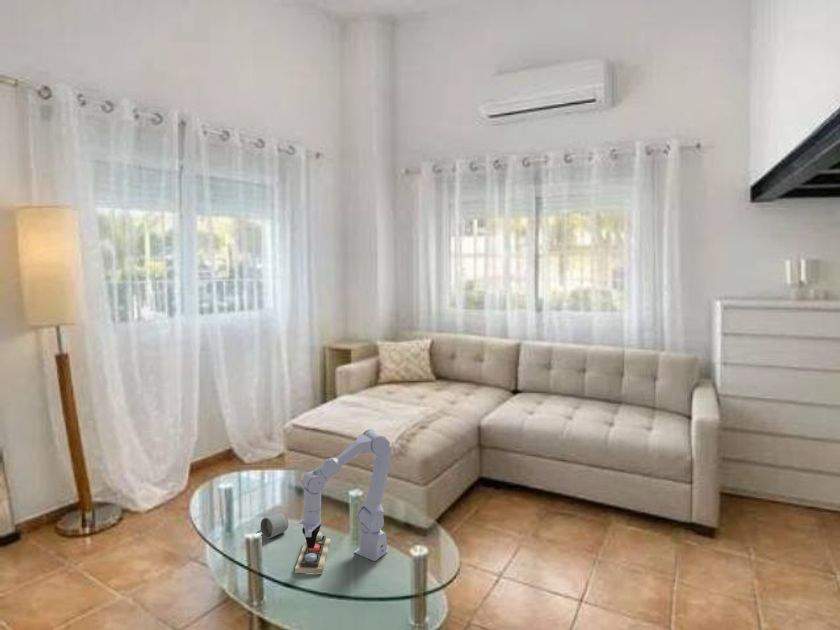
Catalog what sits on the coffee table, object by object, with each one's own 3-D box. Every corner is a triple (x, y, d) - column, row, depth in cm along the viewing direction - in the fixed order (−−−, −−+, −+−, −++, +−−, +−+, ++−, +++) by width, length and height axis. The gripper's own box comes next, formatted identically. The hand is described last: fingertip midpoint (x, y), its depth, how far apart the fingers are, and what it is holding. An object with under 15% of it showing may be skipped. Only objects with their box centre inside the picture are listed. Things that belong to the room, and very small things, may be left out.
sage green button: (312, 536, 193) (312, 531, 193) (323, 536, 193) (323, 531, 193) (310, 542, 189) (310, 536, 189) (321, 542, 189) (321, 537, 189)
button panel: (305, 543, 195) (306, 534, 194) (330, 543, 195) (330, 534, 195) (294, 574, 175) (295, 564, 175) (322, 574, 175) (322, 564, 175)
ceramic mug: (289, 533, 202) (290, 513, 201) (272, 541, 195) (272, 521, 194) (272, 525, 208) (272, 506, 207) (254, 532, 201) (254, 513, 201)
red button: (309, 548, 187) (309, 543, 187) (320, 548, 187) (320, 543, 187) (306, 554, 183) (307, 549, 183) (318, 554, 183) (318, 549, 183)
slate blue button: (305, 558, 180) (305, 552, 180) (317, 558, 180) (317, 553, 180) (303, 564, 176) (303, 559, 176) (315, 565, 176) (315, 559, 176)
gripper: (304, 498, 184) (303, 536, 185) (295, 518, 170) (294, 558, 171) (324, 499, 184) (323, 536, 185) (317, 518, 170) (316, 559, 171)
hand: (311, 547), depth 178 cm, fingers closed
